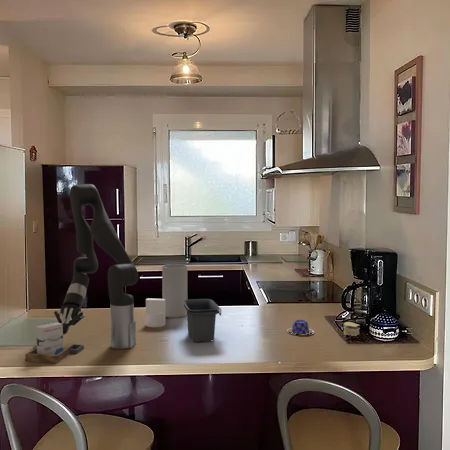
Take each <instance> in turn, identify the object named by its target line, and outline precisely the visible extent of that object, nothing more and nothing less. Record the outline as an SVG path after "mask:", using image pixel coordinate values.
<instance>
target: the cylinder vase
mask: <svg viewBox="0 0 450 450" xmlns="http://www.w3.org/2000/svg"><path fill="white" fill-rule="evenodd" d="M161 268H162V269H161V270H162V271H161V272H162V273H161V275H162V277H161V279H162V280H161V281H162V283H161V285H162V288H161V291H162V298H161V299H165V318H168V319H169V318H170V319H180V318H183V317H187V310H186V308H185V307H184V303H183V301H184V300H188V265H187V264H182V263H181V264H179V263H171V264H169V263H167V264H163V265H162V267H161Z"/></svg>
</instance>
